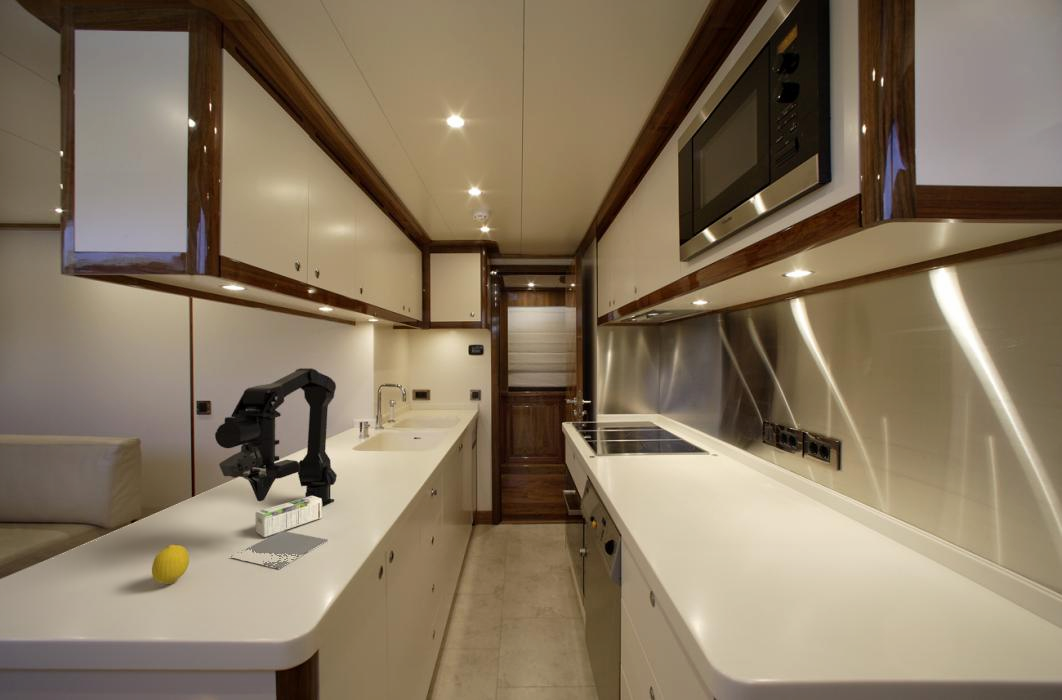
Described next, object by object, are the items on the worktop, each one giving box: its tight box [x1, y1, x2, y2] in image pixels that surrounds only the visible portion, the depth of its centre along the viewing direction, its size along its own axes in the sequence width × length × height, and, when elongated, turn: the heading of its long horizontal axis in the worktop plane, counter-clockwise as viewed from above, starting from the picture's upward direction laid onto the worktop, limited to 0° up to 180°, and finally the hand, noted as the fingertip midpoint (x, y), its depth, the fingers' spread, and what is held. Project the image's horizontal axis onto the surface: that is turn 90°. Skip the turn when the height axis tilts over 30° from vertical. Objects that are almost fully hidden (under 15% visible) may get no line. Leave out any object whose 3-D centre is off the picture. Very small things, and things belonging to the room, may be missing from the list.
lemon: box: [151, 544, 190, 585], centre depth 77 cm, size 6×6×8 cm
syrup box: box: [255, 496, 323, 538], centre depth 103 cm, size 6×6×14 cm
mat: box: [230, 530, 328, 569], centre depth 90 cm, size 13×15×1 cm
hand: (260, 500), depth 92 cm, fingers closed
